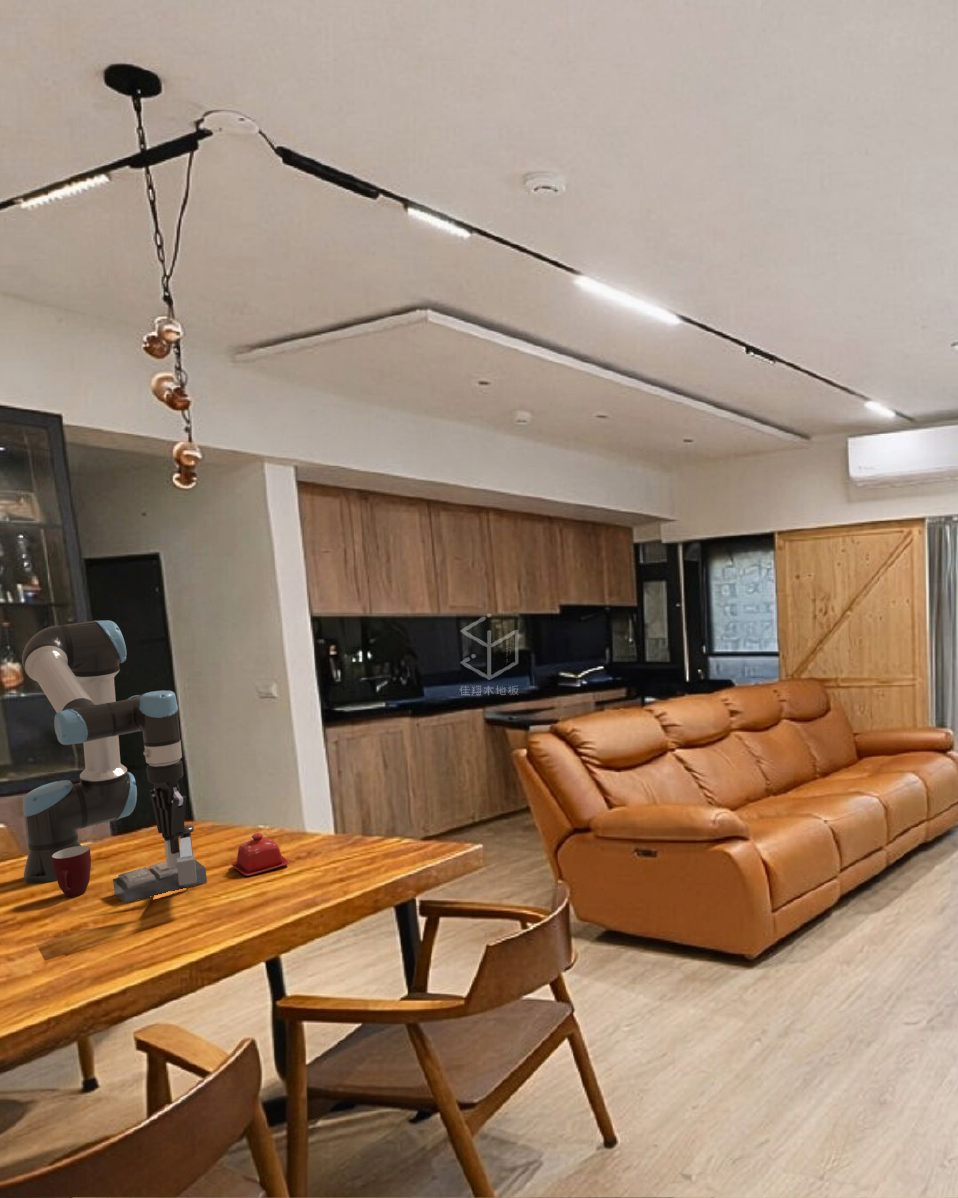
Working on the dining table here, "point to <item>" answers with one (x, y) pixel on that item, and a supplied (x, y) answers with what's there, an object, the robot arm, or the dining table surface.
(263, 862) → the butter dish
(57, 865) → the mug
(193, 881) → the light grey bar
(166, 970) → the dining table surface
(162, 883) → the grey stepped machine part
